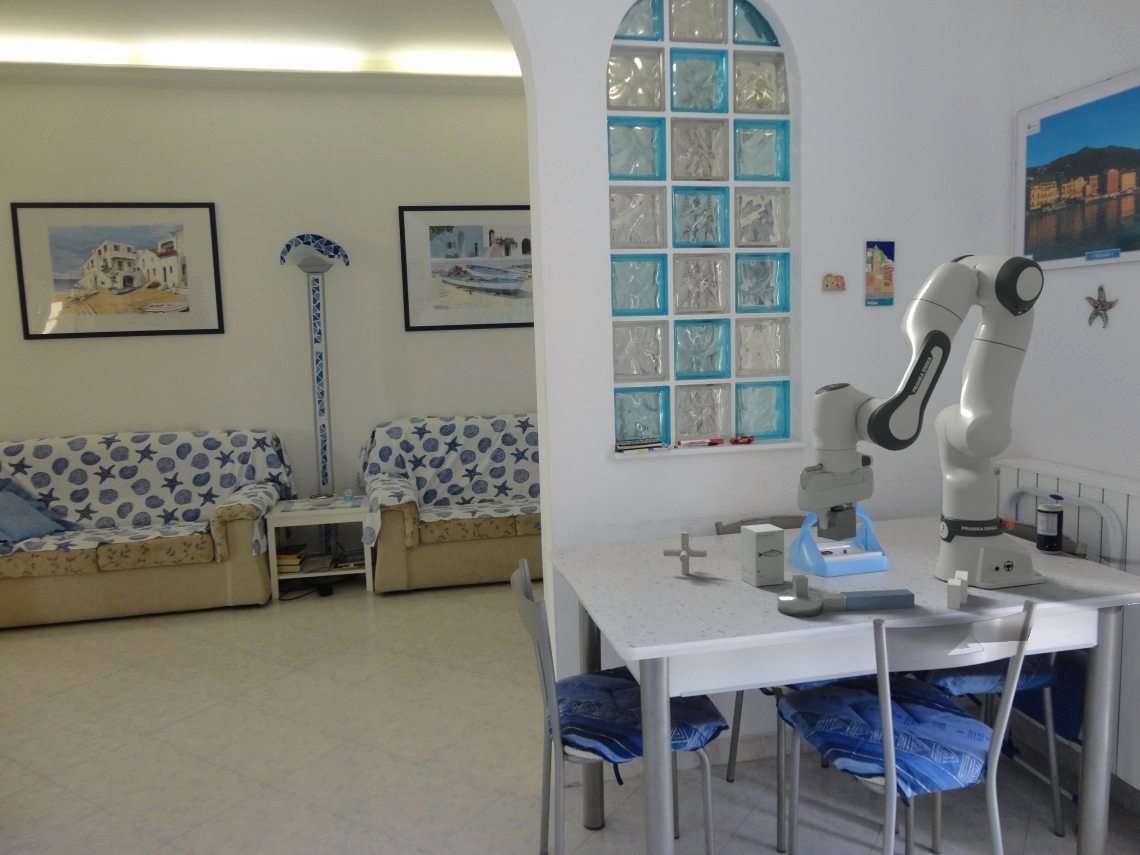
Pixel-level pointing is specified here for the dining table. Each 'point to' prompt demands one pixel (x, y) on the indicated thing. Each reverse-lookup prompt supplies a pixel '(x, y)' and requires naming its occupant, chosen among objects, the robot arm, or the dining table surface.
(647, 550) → the dining table surface
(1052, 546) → the beverage can
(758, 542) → the supplement box
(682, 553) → the pipe connector
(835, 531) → the dark grey block
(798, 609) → the ratchet
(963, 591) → the notched white block
